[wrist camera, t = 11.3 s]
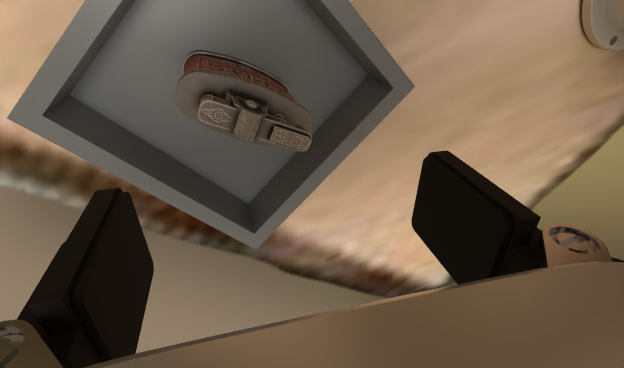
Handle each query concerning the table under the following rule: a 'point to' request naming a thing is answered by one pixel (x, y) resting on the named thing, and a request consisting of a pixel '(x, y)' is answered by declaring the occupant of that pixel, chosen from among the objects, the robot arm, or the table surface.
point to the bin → (193, 136)
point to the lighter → (241, 101)
